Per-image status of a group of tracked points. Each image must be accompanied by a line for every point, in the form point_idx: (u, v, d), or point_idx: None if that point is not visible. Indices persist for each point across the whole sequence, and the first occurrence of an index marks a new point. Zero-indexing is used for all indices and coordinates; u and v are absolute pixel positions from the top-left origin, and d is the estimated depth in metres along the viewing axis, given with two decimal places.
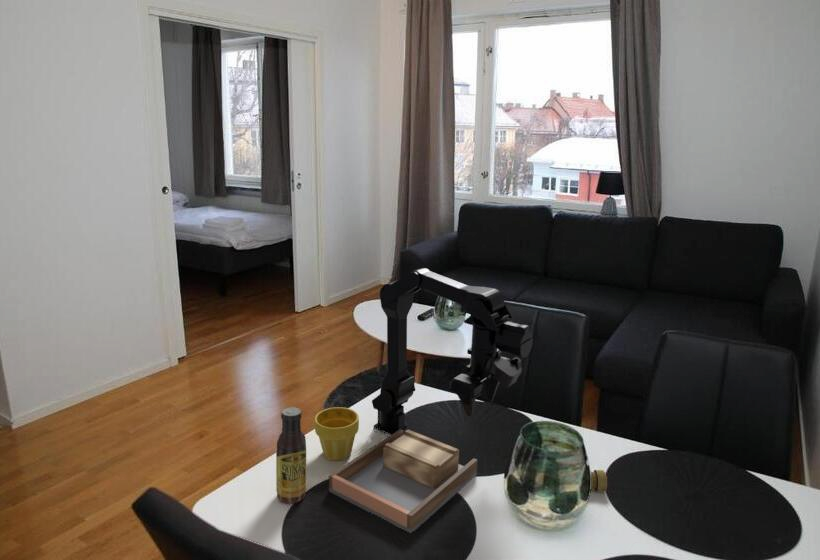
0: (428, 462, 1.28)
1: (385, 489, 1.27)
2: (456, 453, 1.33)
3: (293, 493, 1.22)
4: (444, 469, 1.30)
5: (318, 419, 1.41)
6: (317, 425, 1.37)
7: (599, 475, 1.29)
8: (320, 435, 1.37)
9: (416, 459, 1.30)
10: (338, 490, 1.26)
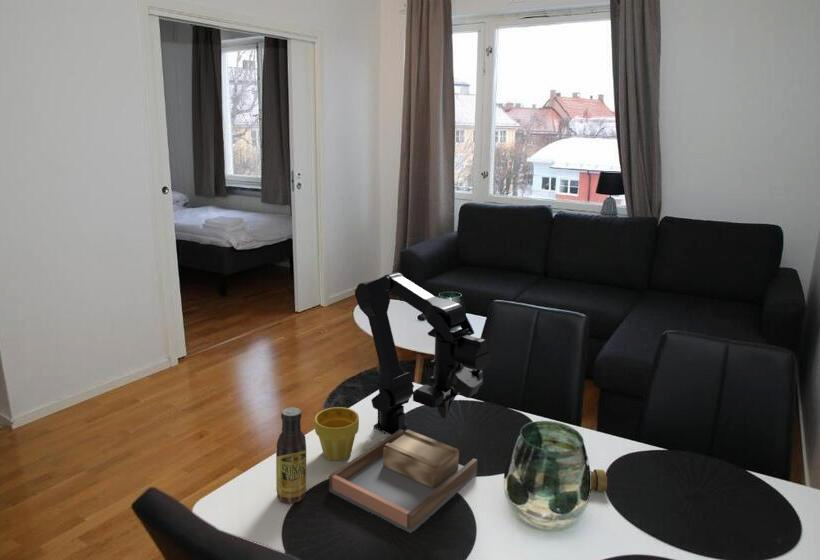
0: (428, 462, 1.28)
1: (385, 489, 1.27)
2: (456, 453, 1.33)
3: (293, 493, 1.22)
4: (444, 469, 1.30)
5: (318, 419, 1.41)
6: (317, 425, 1.37)
7: (599, 474, 1.29)
8: (320, 435, 1.37)
9: (416, 459, 1.30)
10: (338, 490, 1.26)
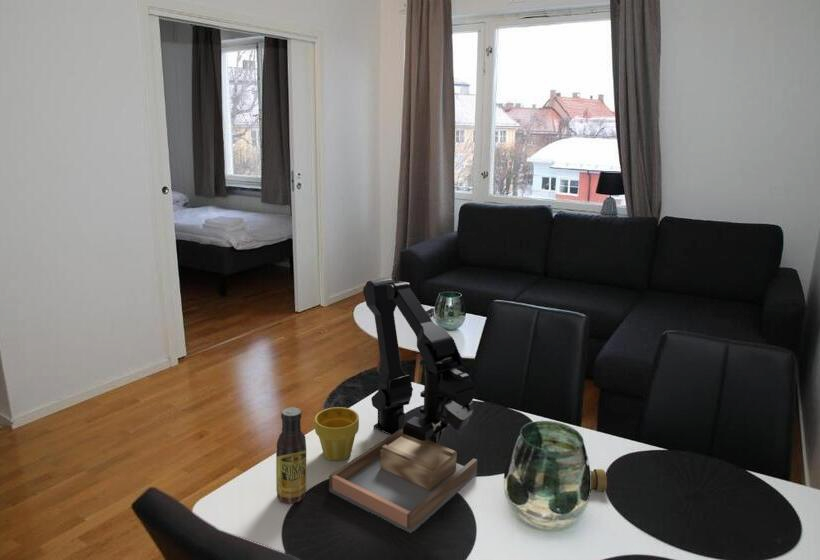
0: (425, 464, 1.27)
1: (385, 489, 1.27)
2: (454, 455, 1.33)
3: (293, 493, 1.22)
4: (442, 471, 1.29)
5: (318, 419, 1.41)
6: (317, 425, 1.37)
7: (599, 474, 1.29)
8: (320, 435, 1.37)
9: (413, 461, 1.29)
10: (338, 490, 1.26)
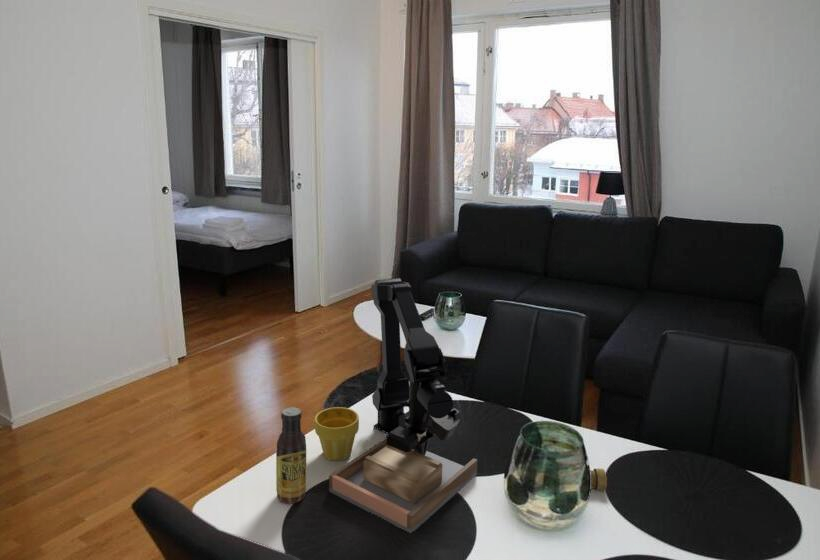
0: (409, 476, 1.23)
1: None
2: (439, 466, 1.28)
3: (293, 493, 1.22)
4: (426, 484, 1.25)
5: (318, 419, 1.41)
6: (317, 425, 1.37)
7: (599, 473, 1.29)
8: (320, 435, 1.37)
9: (397, 473, 1.24)
10: (338, 490, 1.26)
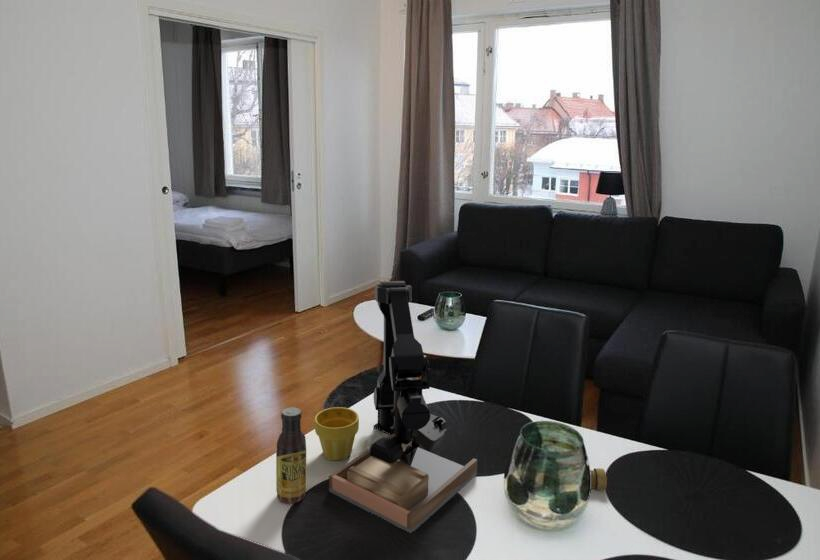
0: (394, 488, 1.19)
1: None
2: (425, 478, 1.24)
3: (293, 493, 1.22)
4: (412, 496, 1.21)
5: (318, 419, 1.41)
6: (317, 425, 1.37)
7: (599, 473, 1.29)
8: (320, 435, 1.37)
9: (381, 485, 1.20)
10: (338, 490, 1.26)
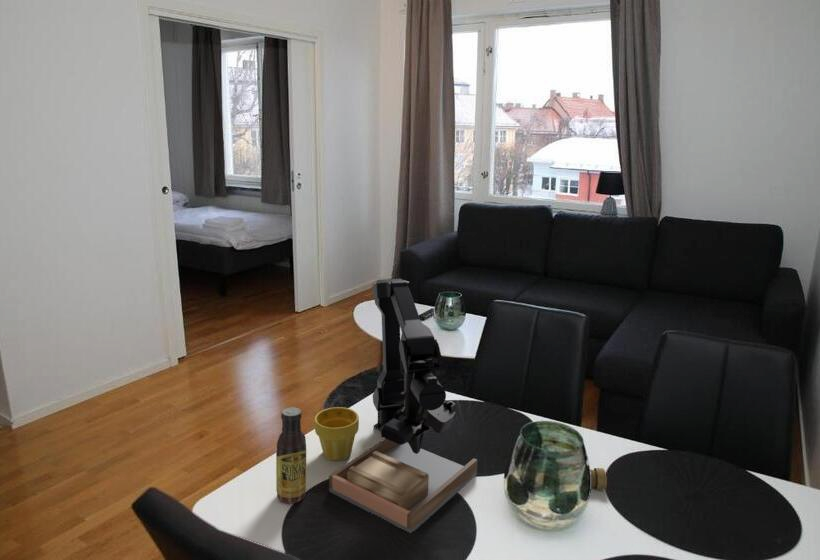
0: (394, 488, 1.19)
1: None
2: (425, 478, 1.24)
3: (293, 493, 1.22)
4: (412, 496, 1.21)
5: (318, 419, 1.41)
6: (317, 425, 1.37)
7: (599, 473, 1.29)
8: (320, 435, 1.37)
9: (381, 485, 1.20)
10: (338, 490, 1.26)
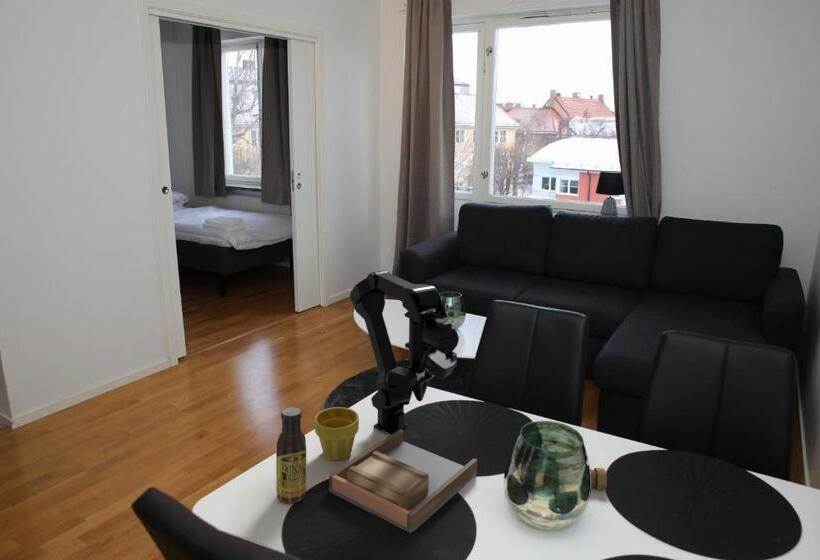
0: (394, 488, 1.19)
1: None
2: (425, 478, 1.24)
3: (293, 493, 1.22)
4: (412, 496, 1.21)
5: (318, 419, 1.41)
6: (317, 425, 1.37)
7: (599, 473, 1.29)
8: (320, 435, 1.37)
9: (381, 485, 1.20)
10: (338, 490, 1.26)
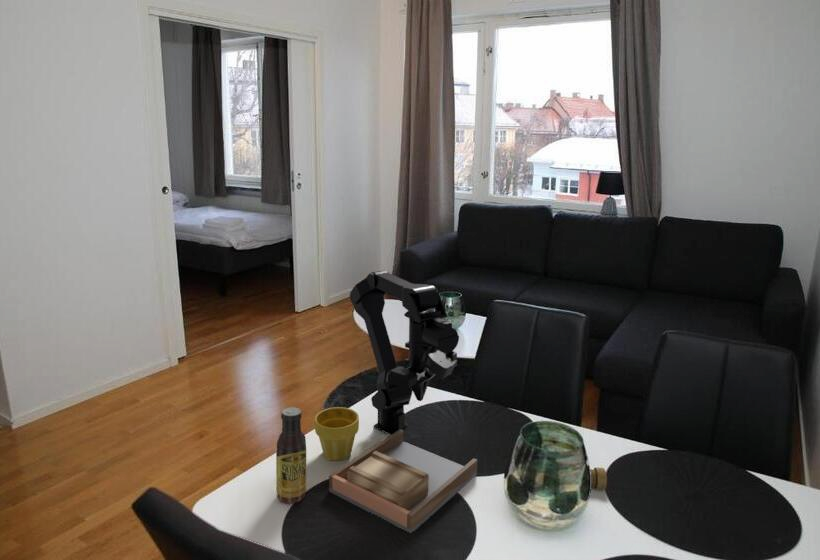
0: (394, 488, 1.19)
1: None
2: (425, 478, 1.24)
3: (293, 493, 1.22)
4: (412, 496, 1.21)
5: (318, 419, 1.41)
6: (317, 425, 1.37)
7: (599, 472, 1.29)
8: (320, 435, 1.37)
9: (381, 485, 1.20)
10: (338, 490, 1.26)
